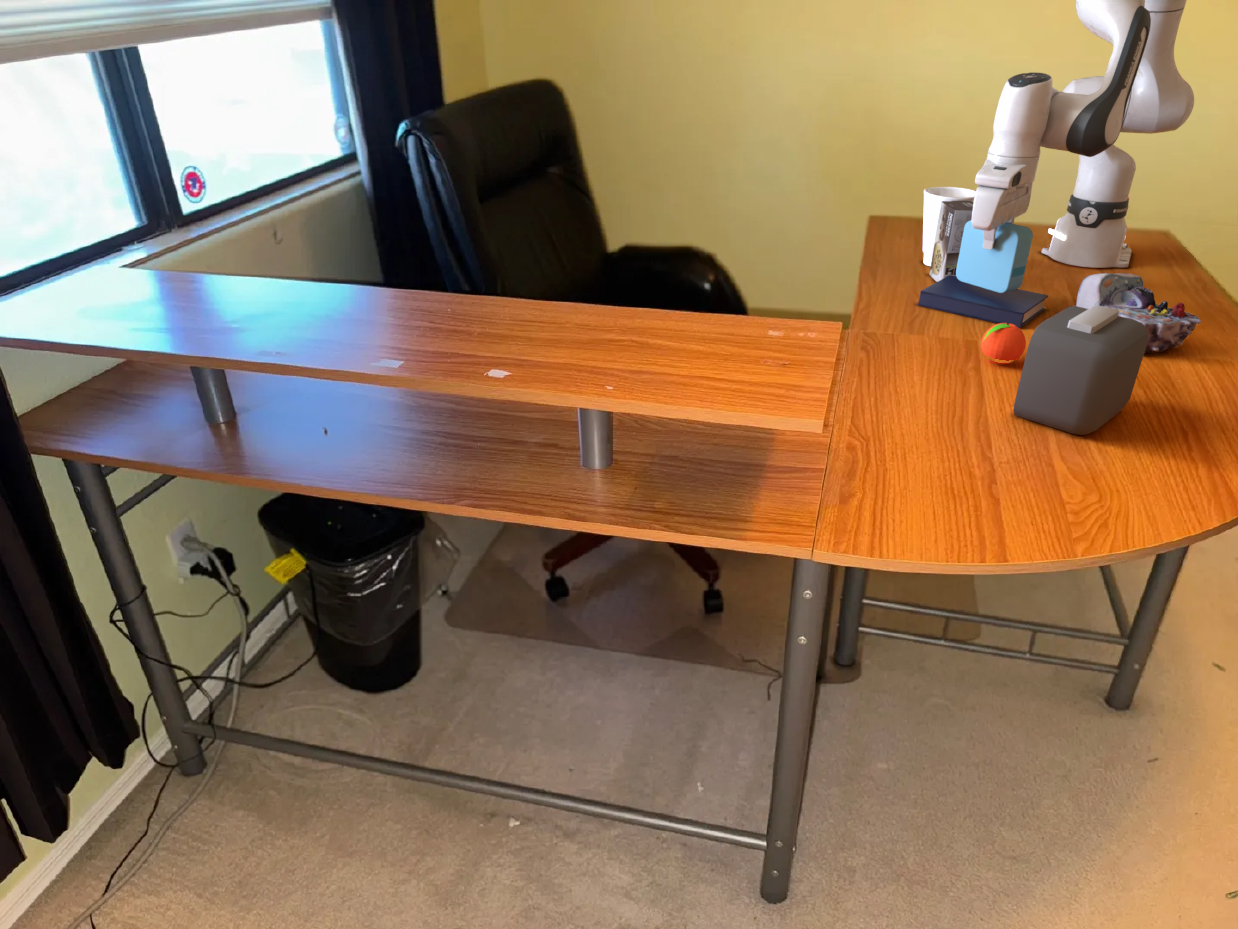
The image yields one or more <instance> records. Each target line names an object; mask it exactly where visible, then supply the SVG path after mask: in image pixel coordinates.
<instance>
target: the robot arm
mask: <svg viewBox="0 0 1238 929" xmlns="http://www.w3.org/2000/svg"><path fill="white" fill-rule="evenodd" d="M1187 2H1188V1H1187V0H1075V10H1076V14H1077V18H1078V19H1079V21H1080V23H1081V24H1082V25H1083V26H1084V28H1086V30H1088V31H1089V32H1090V33H1091V34H1093V35H1094V36H1096V37H1098V38H1100V39H1101V40H1104V41H1105V42H1107V43H1109V44H1111V45H1112V46H1113V47H1112V53H1111V55H1110V57H1109V60H1108V64H1107V67H1106V69H1105V73H1104V75H1095V76H1088V77H1082V78H1076V79H1073V80H1072V81H1070V82H1069V83H1068V84H1067V85H1065V87H1064V88H1063V90H1062V91H1059V90H1058V89H1057V88H1054V87H1053V77H1052V76H1051V75H1050V74H1047V73H1045V72H1024V73H1018V74H1015V75H1013V76H1011V77H1010V78H1007V80H1006V82H1005V83H1004V86H1003V88H1002V90H1001V94H1000V96H999V99H998V103H997V107H996V110H995V114H994V115H995V116H994V118H993V124H992V132H993V133H992V134H993V135H992V136H993V137H992V141H991V144H990V146H989V148H988V150H987V155H986V160H984V164H983V166H981V168H980V169H979V170H978V171H977V173H975V174H976V175H975V179H974V184H975V185H976V186H977V187H976V190H975V191H976V193H975V197H974V203H973V210H972V219H971V222H972V227H973V228H974V229H979V230H983V235H984V243H983V248H984V249H989V250H991V249H992V248H994V247H995V243H996V239H995V235H996V231H997V229H998V226H1000V225H1002V224H1004V223H1006V222H1008V223H1012V224H1015V219H1016V218H1019V217H1020V216H1022V215H1024V214H1026V213H1027V211H1028V208H1029V206H1030V203H1031V197H1032V190H1033V186H1034V185H1033V184H1034V182H1035V179H1036V175H1037V170H1038V166H1039V161H1040V157H1041V148H1045V149H1050V150H1056V151H1063V152H1068V153H1072V154H1076V155H1078V166H1077V167H1078V168H1077V173H1076V174H1077V175H1076V180H1075V184H1074V187H1073V188H1074V189H1073V192H1072V194H1071V195H1070V197H1069V200H1068V202H1067V208H1066V211H1067V212H1066V213H1065V214H1064V215H1063V216H1060V218H1058V219H1057V221H1056V224H1055V228H1054V229H1052V228H1048V231H1047V233H1048V234H1050V235H1052V237H1051V241H1050V244H1049V246H1050V247H1049V246H1048V247H1049V248H1045V247H1042V249H1041V251H1040V252H1041V254H1043V255H1046V256H1048V257H1050V258H1051V259H1052V260H1054V261H1056V262H1059V263H1062V264H1064V265H1065V264H1066V265H1070V266H1074V267H1081V268H1092V269H1107V268H1108V269H1109V268H1120V269H1121V268H1122V269H1123V268H1126V269H1127V268H1129V266H1130V261H1131V256H1132V252H1133V249H1132V248H1130V247H1128V244H1127V243H1124V242H1125V240H1126V236H1127V232H1128V225H1127V222H1126V218H1125V217H1126V216H1127V213H1128V210H1129V201H1130V197H1129V195H1130V193H1131V192H1130V191H1131V187H1132V185H1133V181H1134V177H1135V174H1136V170H1137V165H1136V161H1135V159H1134V158H1133V156H1132V155H1131V154H1129V153H1128V152H1126V151H1125V150H1123V149H1122V148H1120V147H1118V146H1116V145H1115V143H1116V142H1117V140H1118V138H1119V137H1120V134H1121V133H1126V134H1146V135H1147V134H1148V135H1149V134H1150V135H1151V134H1159V133H1160V134H1161V133H1167V132H1174V131H1176V130H1178V129H1180V127H1182V126H1183V125H1184V124H1185V123H1186V122H1187V120H1188V119H1189V118H1190V116H1191V115H1192V112H1193V109H1194V106H1195V93H1194V90H1193V88H1192V87H1191V85H1190V84H1189V82H1187V80H1185V78H1184V77H1183V76H1182V75H1181V73H1180V72H1179V70H1178V68H1177V64H1176V61H1175V45H1176V39H1177V37H1178V36H1177V35H1178V31H1179V28H1180V23H1181V21H1182V16H1183V14H1184V10H1185V7H1186V4H1187Z"/></svg>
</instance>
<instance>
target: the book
mask: <svg viewBox="0 0 1238 929" xmlns="http://www.w3.org/2000/svg"><path fill="white" fill-rule="evenodd" d="M1048 298H1049V294H1045V293H1041V292H1040V293H1039V292H1036V291H1035V292H1034V291H1030V290H1025V289H1020V288H1018V289H1016V290H1012V291H1009V292H1005V293H998V292H995V291H991V290H988V289H985V288H981V287H978V286H975V285H971V284H968V283H965V282H962V281H960V280H958V278H957V277H956V276H951V275H949V276H947V277H945V278H944V279H942V280H940V281H938V282H936V281H935V282H934V283H933V284H931V285H929V286H926V288H924V289H921V290H920V293H919V298H918V304H917V306H918V307H924V308H928V309H931V310H932V309H933V310H937V311H941V312H945V313H950V314H954V315H959V316H964V317H967V318H973V319H977V320H981V321H984V322H985V321H986V322H990V323H994V324H999V323H1010V324H1013V325H1015V326H1017V327H1018V328H1019V329H1021V328H1023V327H1024V326H1026V325H1027V324H1028V323H1030V322H1031V321H1032V320H1033V319H1036V317H1038V316H1039V315H1040V314H1042V313H1043V312H1044V311H1045V310H1046V307H1044V305H1045V302H1046V299H1048Z"/></svg>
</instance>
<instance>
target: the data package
mask: <svg viewBox="0 0 1238 929" xmlns="http://www.w3.org/2000/svg"><path fill="white" fill-rule="evenodd" d="M1033 238H1034V233H1033V230H1032V229H1031V228H1030V227H1027V226H1024V225H1020V224H1015V223H1013V224H1012V223H1008V222H1006V223H1004V224H1002V225H1000V226H998V229H997V231H996V235H995V239H996V243H995V247H994V248H992V249H991V250H989V249H984V248H983V243H984V235H983V230H979V229H974V228H973V227H972V222H971V221H968V222H967V223H966V224H965V227H964V232H963V237H962V243H961V248H960V253H959V258H958V264H957V269H956V276H957V278H958V280H960V281H962V282H965V283H968V284H971V285H975V286H978V287H981V288H985V289H988V290H991V291H995V292H998V293H1005V292H1009V291H1012V290H1016V289H1020V288H1021V287H1022V286H1023V281H1024V278H1025V273H1026V268H1027V264H1028V259H1029V255H1030V251H1031V247H1032V242H1033Z"/></svg>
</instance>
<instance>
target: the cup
mask: <svg viewBox="0 0 1238 929" xmlns="http://www.w3.org/2000/svg"><path fill="white" fill-rule="evenodd" d="M975 193H976V190H974V189H969V188H965V187H955V186H932V187H927V188H924V189H923V219H922V221H923V224H922V253H923V259H922V260H923V261H922V262H923V265H925V266H928V267H931V262H932V256H933V250H934V244H935V238H936V231H937V225H938V220H939V214H940V208H941V202H942V201H971V202H973V203H974V197H975Z"/></svg>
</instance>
